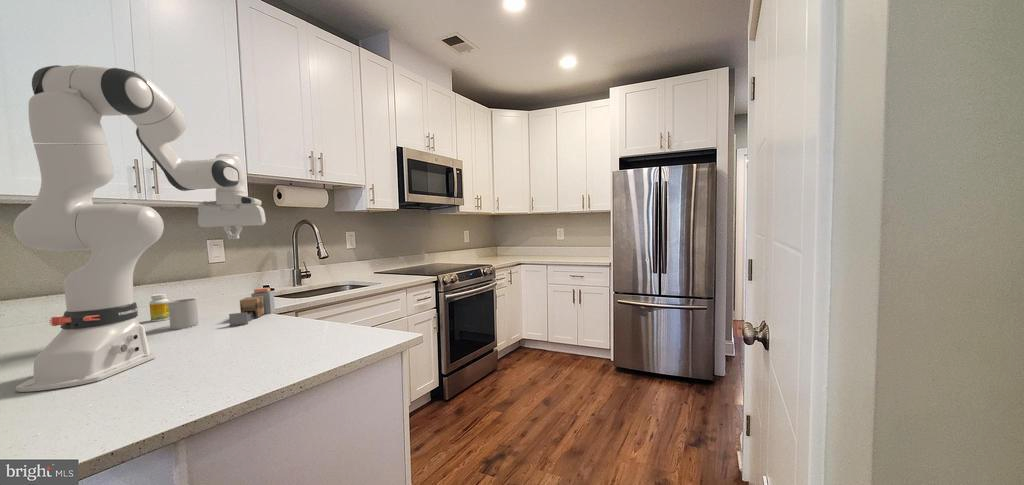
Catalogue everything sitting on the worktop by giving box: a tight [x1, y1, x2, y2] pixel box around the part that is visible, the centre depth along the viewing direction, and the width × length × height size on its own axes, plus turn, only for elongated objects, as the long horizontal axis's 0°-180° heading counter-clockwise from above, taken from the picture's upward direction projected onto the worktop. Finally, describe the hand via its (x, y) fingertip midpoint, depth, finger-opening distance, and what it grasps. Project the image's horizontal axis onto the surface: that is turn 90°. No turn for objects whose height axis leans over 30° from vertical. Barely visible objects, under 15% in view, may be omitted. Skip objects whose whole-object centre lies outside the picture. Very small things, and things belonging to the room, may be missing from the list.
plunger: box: [253, 287, 271, 293], centre depth 144 cm, size 3×4×5 cm
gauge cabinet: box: [250, 290, 276, 315], centre depth 144 cm, size 4×6×8 cm
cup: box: [168, 298, 199, 330], centre depth 128 cm, size 7×10×9 cm
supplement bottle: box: [149, 293, 170, 323], centre depth 139 cm, size 5×5×10 cm
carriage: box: [239, 296, 265, 318], centre depth 137 cm, size 6×5×7 cm
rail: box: [228, 310, 257, 327], centre depth 133 cm, size 16×5×4 cm, turn 16°
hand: (233, 238), depth 136 cm, fingers closed
